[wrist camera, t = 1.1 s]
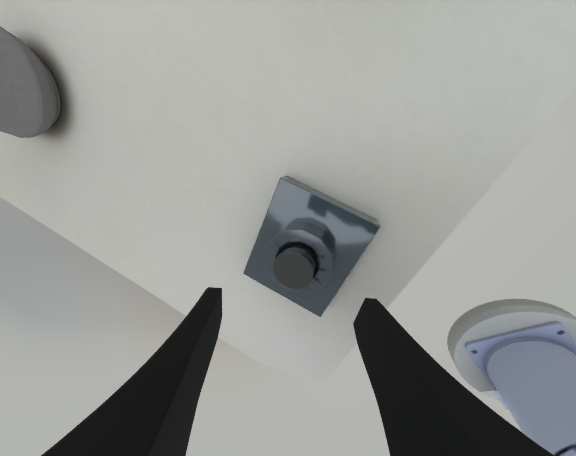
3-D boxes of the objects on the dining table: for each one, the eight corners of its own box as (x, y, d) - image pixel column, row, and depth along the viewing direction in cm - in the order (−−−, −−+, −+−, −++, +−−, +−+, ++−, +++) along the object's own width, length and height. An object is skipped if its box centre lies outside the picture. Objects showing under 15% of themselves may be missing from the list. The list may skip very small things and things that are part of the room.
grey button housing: (286, 175, 22) (272, 180, 18) (378, 220, 20) (383, 234, 17) (250, 265, 27) (234, 283, 23) (322, 305, 25) (317, 330, 22)
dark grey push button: (288, 236, 20) (281, 244, 18) (323, 254, 19) (320, 265, 17) (275, 265, 21) (267, 276, 19) (307, 283, 21) (302, 296, 19)
